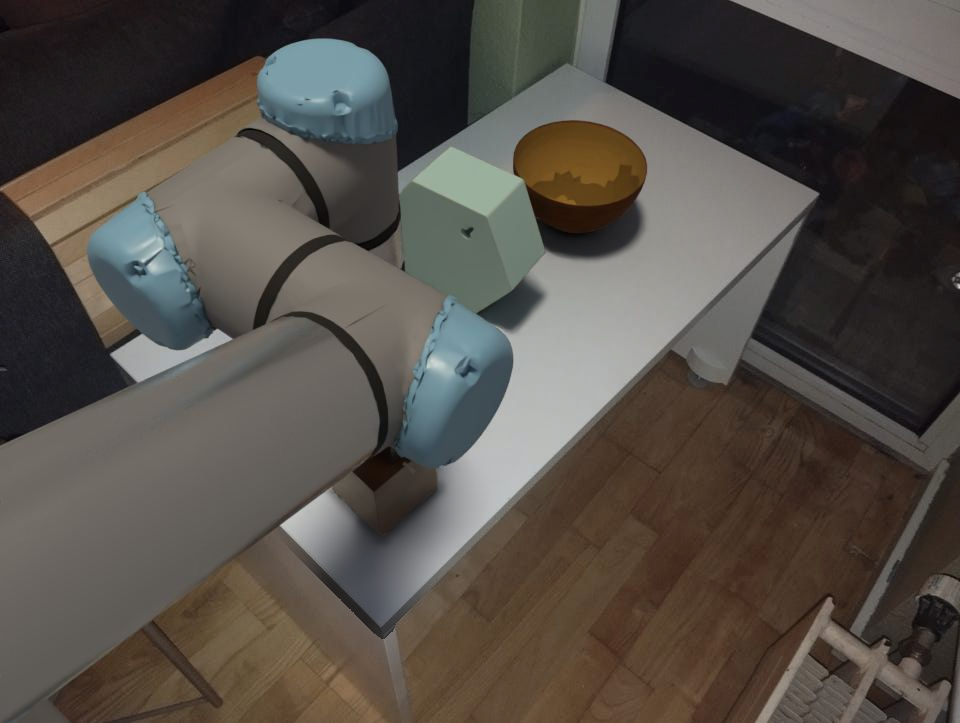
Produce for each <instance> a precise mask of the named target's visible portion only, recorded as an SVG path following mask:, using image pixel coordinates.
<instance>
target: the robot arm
mask: <svg viewBox="0 0 960 723" xmlns="http://www.w3.org/2000/svg"><path fill="white" fill-rule="evenodd" d="M256 88H257V94H258V97H257V99H256V104H257V106H258V110H259V111H260V116H259V117H258V118H257V119H256V120H254V121H252V122H251V123H248V125H246V126H244V127H243V128H241V129H240V130H239V131H237V133H236V135H234V136H233V137H231V138H230V139H228V140H226V141H225V142H224V143H222V144H220V145H219V146H217V147H216V148H214V149H212V150H211V151H210V152H208V153H206V154H205V155H203V156H202V157H200V158H198V159H197V160H195V161H194V162H192V163H191V164H190V165H189V164H188V166H186V167H185V168H182V170H180V171H178V172H177V173H175V174H173V175H172V176H170V177H169V178H167V179H166V180H163V181H162V182H161V183H159V184H157V185H156V186H155V187H153V188H151V189H149V190H148V191H147V192H146V191H142V192H140V193H138V194H137V198H136V199H135V200H133V202H131V203H129V204H128V205H127V206H125V207H124V208H123V209H121V210H119V212H117V213H115V214H114V215H113V216H111V217H110V218H109V219H108V221H106V222H105V223H103V224H102V225H101V226H99V227H98V228H97V229H96V230H94V232H93V233H92V234H91V236H90V237H89V240H88V242H87V246H86V257H87V261H88V264H89V267H90V268H89V269H90V270H91V272H92V274H93V277H94V279H95V280H96V282H97V284H98V285H99V287H100V288H101V290H102V291H103V292H104V294H105V295H106V297H107V298H108V300H110V302H111V304H112V305H113V306H114V307H115V308H116V310H117V311H118V312H119V313H120V314H121V315H122V316H123V317H124V319H126V320H127V321H128V322H129V323H130V324H131V325H132V326H133V327H134V328H136V330H137V331H139V333H141V334H142V335H143V336H145V337H146V338H147V339H148V340H150V341H152V342H153V343H155V344H156V345H158V346H160V347H164V348H167V349H169V350H173V351H185V350H187V349H189V348H191V347H193V346H194V345H196V344H198V343H200V342H201V341H203V340H205V339H209V338H210V336H211V335H213V334H214V332H215V331H216V330H219V331H220V332H222V333H223V334H224V335H226V336H227V337H229V338H230V339H229V340H228V341H226V342H224V343H222V344H220V345H217V346H215V347H213V348H211V349H208V350H206V351H204V352H202V353H199V354H198V355H195V356H193V357H191V358H188V359H186V360H185V361H182V362H180V363H178V364H176V365H174V366H171V367H170V368H167V369H165V370H163V371H160V372H158V373H156V374H153V375H151V376H149V377H148V378H144V379H143V380H141V381H139V382H137V383H134V384H132V385H130V386H127V387H125V388H123V389H121V390H119V391H116V392H114V393H113V394H110V395H108V396H106V397H104V398H101V399H99V400H97V401H95V402H92V403H90V404H88V405H86V406H84V407H82V408H79V409H77V410H75V411H73V412H70V413H69V414H67V415H64V416H62V417H60V418H58V419H55V420H53V421H51V422H49V423H46V424H44V425H42V426H41V427H38V428H35V429H33V430H31V431H29V432H27V433H25V434H23V435H20V436H19V437H16V438H14V439H11V440H9V441H7V442H5V443H3V444H1V445H0V723H72V722H71V721H70V720H69V719H68V718H67V716H66V715H65V714H63V713H62V712H61V710H59V708H58V707H57V706H55V704H54V703H53V702H52V701H51V700H50V697H51V696H53V695H54V694H55V693H57V692H58V691H59V690H61V689H62V688H64V687H65V686H66V685H68V684H70V683H71V682H72V681H73V680H75V679H76V678H77V677H79V676H80V675H81V674H82V673H84V672H85V671H87V670H88V669H89V668H90V667H92V666H93V665H94V664H96V663H98V661H100V660H101V659H103V658H104V657H105V656H107V655H108V654H110V652H112V651H113V650H115V649H116V648H117V647H119V646H120V645H121V644H123V643H124V642H126V641H127V640H128V639H130V638H131V637H133V636H134V635H135V634H137V633H138V632H139V631H140V630H142V629H143V628H144V627H146V626H147V625H148V624H150V623H151V622H152V621H154V620H155V619H157V618H158V617H159V616H161V614H163V613H164V612H166V611H167V610H169V609H170V608H171V607H172V606H174V605H175V604H176V603H178V602H180V600H182V599H183V598H184V597H186V596H188V595H189V594H190V593H191V592H192V591H194V590H195V589H196V588H198V587H199V586H200V585H202V584H203V583H204V582H206V581H208V579H210V578H212V576H214V575H216V574H217V573H218V572H219V571H221V570H222V569H224V568H225V567H226V566H228V565H229V564H230V563H232V562H233V561H234V560H235V559H237V558H238V557H239V556H241V555H242V554H244V553H245V552H246V551H248V550H249V549H250V548H251V547H253V546H254V545H256V544H257V543H258V542H260V541H261V540H263V539H264V538H265V537H266V536H268V535H269V534H271V533H272V532H273V531H275V530H276V529H277V528H278V527H280V526H281V525H282V524H284V523H285V522H286V521H288V520H289V519H291V518H292V517H293V516H295V515H296V514H297V513H299V512H300V511H301V510H303V509H305V507H306V506H308V505H309V504H311V503H312V502H314V500H317V499H318V498H319V497H320V496H321V495H323V494H324V493H326V492H327V491H328V490H330V489H332V486H333V485H335V484H336V483H337V482H339V481H340V480H341V479H343V478H344V477H345V476H347V475H348V474H349V473H351V472H352V471H354V470H355V469H356V468H358V467H359V466H360V465H362V464H363V463H364V462H366V461H367V460H369V459H370V458H372V457H373V456H375V455H377V454H378V453H380V452H381V451H382V450H384V449H385V448H386V447H392V448H393V449H395V451H396V452H397V454H398V455H399V456H400V457H402V458H403V457H406V458H408V459H410V460H412V461H414V462H416V463H418V464H420V465H421V466H423V467H426V468H437V469H439V468H440V467H447V466H448V465H451V464H453V463H456V462H457V461H458V460H460V459H461V458H462V457H464V455H465V454H466V453H467V452H469V451H470V449H472V447H473V446H475V444H476V443H477V441H478V440H479V439H480V437H481V436H482V435H483V434H484V432H485V431H486V430H487V428H488V427H489V425H490V423H491V422H492V420H494V417H495V416H496V414H497V412H498V410H499V408H500V406H501V404H502V402H503V400H504V398H505V395H506V393H507V389H508V387H509V384H510V381H511V377H512V374H513V369H514V350H513V347H512V346H513V345H512V343H511V340H509V338H508V336H507V335H506V333H504V332H503V331H501V329H499V328H498V327H497V326H495V325H494V324H492V323H491V322H489V321H488V320H486V319H485V318H483V317H481V316H480V315H479V314H478V313H474V312H473V311H471V310H470V309H468V308H467V307H465V306H464V305H462V304H461V303H459V302H458V299H457V298H456V297H454V296H452V295H448V296H447V295H445V294H444V293H442V292H440V291H438V290H436V289H435V288H433V287H431V286H429V285H427V284H426V283H424V282H422V281H420V280H418V279H417V278H415V277H413V276H412V275H410V274H409V273H407V272H405V261H404V258H405V257H404V245H403V233H402V221H401V209H400V200H399V194H400V189H399V170H398V169H399V168H398V150H397V148H398V147H397V133H398V129H399V128H398V127H399V124H398V121H397V118H396V114H395V106H394V101H393V94H392V88H391V83H390V77H389V74H388V71H387V69H386V67H385V66H384V64H383V62H382V61H381V60H380V59H379V58H378V56H376V55H375V54H374V53H372V52H371V51H370V50H368V49H366V48H362V47H359V46H357V45H356V44H354V43H353V42H349V41H346V40H342V39H336V38H311V39H304V40H300V41H296V42H293V43H289V44H287V45H285V46H283V47H281V48H279V49H277V50H276V51H274V52H273V53H271V55H269V56H268V57H267V58H266V59H265V62H264V65H263V67H262V68H261V69H260V70H259V72H258V74H257V77H256Z"/></svg>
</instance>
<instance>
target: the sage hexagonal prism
mask: <svg viewBox="0 0 960 723" xmlns="http://www.w3.org/2000/svg"><path fill="white" fill-rule="evenodd" d="M399 200H400V209H401V221H402V233H403V245H404V257H405V258H404V261H405V272H407V273H409V274H410V275H412V276H413V277H415V278H417V279H418V280H420V281H422V282H424V283H426V284H427V285H429V286H431V287H433V288H435V289H436V290H438V291H440V292H442V293H444V294H445V295H447V296H448V295H452V296H454V297H456V298H457V299H458V302H459V303H461V304H462V305H464V306H465V307H467V308H468V309H470V310H471V311H473V312H474V313H476V314H478V313H479V312H481V311H482V310H484V309H486V308H487V307H489V306H490V305H492V304H494V303H495V302H497V301H499V300H500V299H502V298H503V297H504V296H506V295H508V294H510V293H511V292H512V291H513V290H514V289H515V288H516V287H517V286H518V285H519V283H521V281H522V280H523V279H524V278H525V277H526V276H527V275H528V273H529V272H530V271H531V270H532V269H533V268H534V266H536V264H537V263H539V261H540V260H541V259H542V257H543V256H544V255H545V254H546V250H545V246H544V243H543V239H542V236H541V233H540V232H541V231H540V229H539V225H538V223H537V219H536V216H535V215H534V212H533V209H532V205H531V202H530V199H529V195H528V192H527V189H526V185H525V182H524V180H523V179H522V178H520V177H518V176H515V175H514V173H511V172H509V171H507V170H504V169H502V168H500V167H498V166H495V165H493V164H491V163H488V162H487V161H485V160H482V159H480V158H478V157H475V156H473V155H471V154H469V153H467V152H464V151H462V150H460V149H458V148H455V147H454V146H449V147H448V148H446V149H445V150H444V151H443V152H442V153H441V154H440V155H438V157H436V158H435V159H434V160H433V161H432V162H431V163H429V164H428V165H427V166H426V167H425V168H423V170H421V171H420V172H419V173H418V174H417V175H416V176H415V177H414V178H412V179H411V180H410V182H408V183H407V185H406V186H405V187H404V188H403V189H402V190H401V191H399Z"/></svg>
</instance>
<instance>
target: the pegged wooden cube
mask: <svg viewBox="0 0 960 723" xmlns="http://www.w3.org/2000/svg"><path fill="white" fill-rule="evenodd" d="M331 489H332V490H333V491H334V492H335V494H336V495H338V496H339V497H340V498H341V499H342V500H343V501H344V502H345V503H346V504H347V505H348V506H349V507H350V508H351V509H352V510H353V511H354V512H355V513H356V514H357V515H358V516H359V517H360V518H361V519H362V520H363V521H364V522H365V523H366V524H367V525H368V526H369V527H370V528H371V529H372V530H373V531H374V532H375V533H376V534H377V535H378V536H379V537H380V538H383V537H384V536H385V535H386V534H388V532H390V531H392V529H394V528H395V526H396V525H398V524H399V523H400V522H401V521H402V520H403V519H405V518H406V517H407V516H408V515H409V514H410V513H412V511H414V510H415V509H416V508H417V507H418V506H419V505H421V504H422V502H424V501H425V500H426V499H427V498H428V497H429V496H431V495H432V494H433V493H434V492H435V491H436V490H437V489H438V468H426V467H423V466H421V465H420V464H418V463H416V462H414V461H412V460H410V459H408V458H406V457H403V458H402V457H399V458H398V459H397V460H396V461H395V462H394V463H393V464H392V463H390V462H389V461H388V460H387V459H385V458H384V457H383V456H381V455H380V454H379V453H378V454H377V455H375V456H373V457H372V458H370V459H369V460H367V461H366V462H364V463H363V464H362V465H360V466H359V467H358V468H356V469H355V470H354V471H352V472H351V473H349V474H348V475H347V476H345V477H344V478H343V479H341V480H340V481H339V482H337V483H336V484H335V485H333V486H332V487H331Z"/></svg>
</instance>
